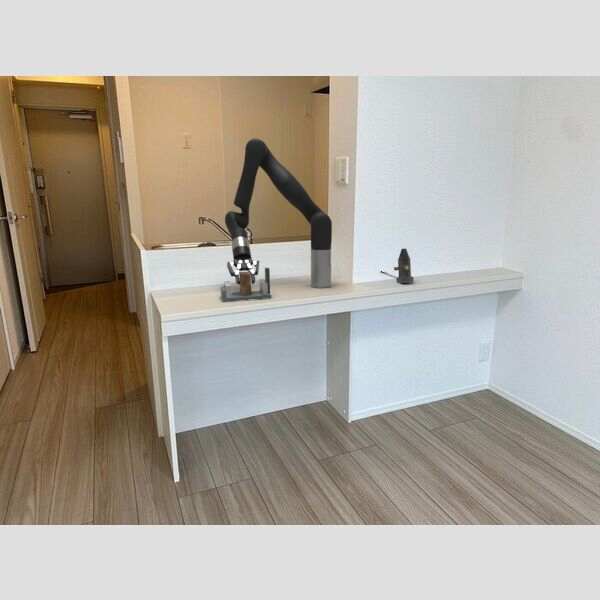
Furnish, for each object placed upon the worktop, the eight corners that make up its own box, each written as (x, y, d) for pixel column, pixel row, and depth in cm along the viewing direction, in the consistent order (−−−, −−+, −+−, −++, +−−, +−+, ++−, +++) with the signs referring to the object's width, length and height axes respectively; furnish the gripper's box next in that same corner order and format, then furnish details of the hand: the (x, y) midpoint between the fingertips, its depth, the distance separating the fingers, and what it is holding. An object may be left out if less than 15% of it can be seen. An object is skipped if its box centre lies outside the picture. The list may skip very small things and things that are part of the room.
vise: (267, 293, 202) (267, 278, 201) (271, 298, 194) (271, 283, 192) (221, 296, 198) (220, 281, 196) (223, 302, 189) (222, 286, 187)
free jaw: (267, 289, 202) (266, 266, 199) (271, 294, 193) (270, 270, 191) (259, 290, 201) (258, 266, 198) (263, 295, 193) (262, 270, 190)
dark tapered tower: (385, 252, 246) (412, 247, 217) (387, 282, 247) (413, 282, 218) (375, 253, 245) (400, 248, 216) (376, 283, 245) (402, 282, 216)
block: (249, 292, 198) (248, 271, 196) (251, 295, 193) (250, 273, 191) (240, 293, 197) (239, 272, 195) (241, 295, 192) (240, 274, 190)
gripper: (224, 245, 196) (228, 279, 187) (258, 244, 199) (264, 277, 191) (224, 256, 202) (228, 289, 194) (257, 254, 205) (262, 287, 197)
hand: (246, 283), depth 192 cm, fingers open, 5 cm apart
